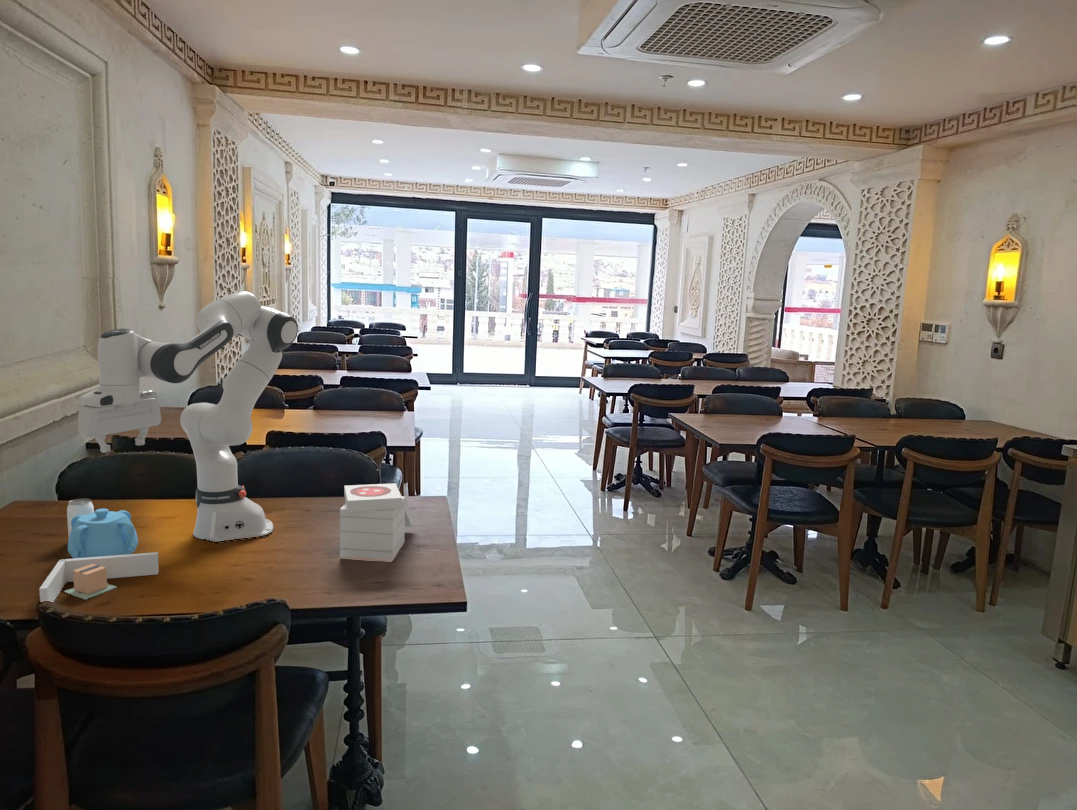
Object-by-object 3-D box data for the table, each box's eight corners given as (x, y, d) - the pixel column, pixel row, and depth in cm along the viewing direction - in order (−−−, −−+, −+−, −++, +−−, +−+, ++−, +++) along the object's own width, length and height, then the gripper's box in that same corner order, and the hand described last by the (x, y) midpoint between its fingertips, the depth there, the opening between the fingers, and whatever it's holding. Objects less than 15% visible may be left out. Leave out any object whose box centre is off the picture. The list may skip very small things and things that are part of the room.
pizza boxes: (419, 529, 234) (420, 474, 231) (397, 566, 205) (398, 503, 202) (359, 526, 235) (360, 471, 232) (329, 562, 205) (328, 499, 202)
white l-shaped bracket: (158, 572, 194) (157, 552, 193) (148, 601, 177) (147, 579, 176) (61, 580, 186) (59, 559, 185) (41, 611, 169) (39, 588, 169)
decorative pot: (140, 544, 212) (138, 498, 210) (136, 564, 198) (134, 515, 196) (73, 550, 205) (70, 503, 203) (65, 572, 191) (61, 521, 189)
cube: (94, 582, 185) (92, 562, 184) (107, 586, 183) (106, 566, 182) (74, 589, 180) (72, 569, 179) (87, 594, 178) (86, 573, 177)
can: (83, 547, 208) (80, 506, 206) (63, 544, 209) (60, 503, 207) (100, 539, 214) (98, 499, 212) (81, 536, 215) (79, 497, 213)
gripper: (148, 388, 196) (151, 439, 198) (72, 398, 177) (76, 454, 180) (165, 390, 193) (167, 442, 195) (89, 401, 175) (93, 458, 177)
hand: (123, 448), depth 187 cm, fingers open, 8 cm apart
